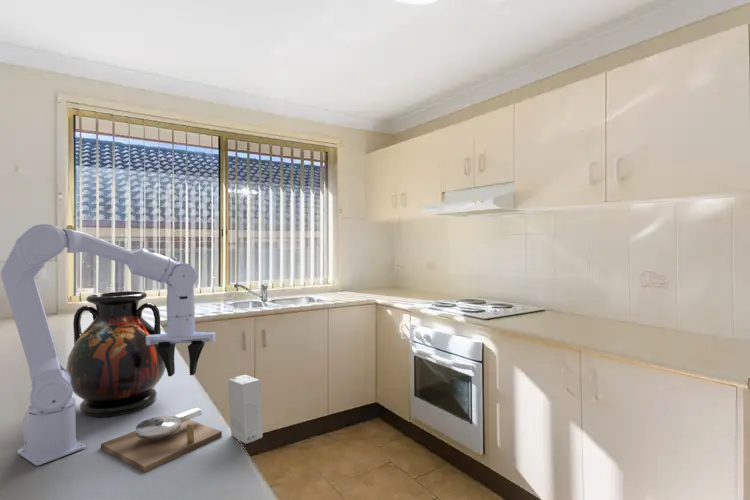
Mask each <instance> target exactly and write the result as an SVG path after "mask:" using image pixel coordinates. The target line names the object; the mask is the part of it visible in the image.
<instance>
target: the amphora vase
mask: <svg viewBox="0 0 750 500" xmlns="http://www.w3.org/2000/svg"><path fill="white" fill-rule="evenodd" d="M147 296H148V295H147V292H144V291H138V290H137V291H133V290H132V291H131V290H130V291H129V290H126V291H111V292H103V293H102V292H101V293H94V294H91V295H88V296H87V297H86V298H85V300H86V302H88V303H90V304H93V305H95V308H94V306H91V305H82V306H80V307H79V308H78V309H77V310H76V312H74V315H73V322H72V325H73V327H72V328H73V345H74V346H73V347H72V349H71V350H70V351H71V352H70V353H69V355H68V356H67V358H66V359H67V360H66V365H65V369H66V370H67V371H68V372H69V373H70V375H71V385H72V388H73V394H75V395H76V396H77V397H79V398H80V399H82V401H81V402H80V404H79V410H80V412H81V413H83V414H84V415H87V416H91V417H101V418H102V417H113V416H119V415H120V416H121V415H124V414H128V413H131V412H134V411H138V410H140V409H142V408H145V407H146V406H148V405H150V404H151V403H152V402H154V401H155V400H156V399H157V393H158V392H157V391H156V389H155V388H154V387H156V386H157V384H158V383H159V382H160V381H161V380H162V378H163V376H164V373H165V372H166V370H167V369H166V366H165V364H164V362H163V360H162V358H161V356H160V355H159V353H158V352H157V347H158V344H152V345H146V336H148V335H155V334H162V333H161V331H162V330H161V315H160V314H161V313H160V309H158V306H157V305H156V304H154V303H152V302H145V303H142V304H141V305H140V306H139V303H140V302H141V300H144V299H145V298H147ZM145 309H151V311H152V312H153V318H154V324H153V325H154V327H153V326H152V325H151V324H150V323H149V322H148V321H146V319H144V318H143V317H142V315H143V311H144V310H145ZM86 311H87V312H89V313H90V314H91V316H92V320H93V321H92V322H91V323H90V325H89V326H88V327H86V328H85V330H84V331H83V332H82V325H81V324H82V323H81V320H82V315H83V313H84V312H86Z"/></svg>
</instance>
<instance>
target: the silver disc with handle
mask: <svg viewBox="0 0 750 500" xmlns="http://www.w3.org/2000/svg"><path fill="white" fill-rule="evenodd" d="M200 416H202V408H199V407H193V408H191V409H188V410H186V411H183V412H180V413H177V414H174V415H167V414H166V415H159V416H154V417H151V418H148V419H146V420H143V421H141V422H140V423H138V424H137V425H136V428H135V431H136V436H137V437H139V438H143V439H153V438H159V437H163V436H167V435H170V434H172V433H174V432H176V431H177V430H178V429H179V428H180V427H181V423H182V422H185V421H187V420H192V419H194V418H197V417H200Z"/></svg>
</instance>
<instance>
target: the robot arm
mask: <svg viewBox="0 0 750 500" xmlns="http://www.w3.org/2000/svg"><path fill="white" fill-rule="evenodd" d="M65 248H67V249H66V250H67V251H66V252H67V254H72V253H73V254H74V253H88V254H92V255H95V256H98V257H101V258H104V259H108V260H110V261H111V260H112V261H114V262H118V263H120V264H123V265H126V266H127V268H128V269H129V271H130V273H131V274H132V275H136V276H140V277H143V278H146V279H148V280H152V281H155V282H158V283H165V285H166V290H167V291H166V292H167V293H166V330H167V332H166V333H161V334H155V335H148V336H146V345H152V344H158V347H157V352H158V353H159V355H160V356H161V358H162V360H163V362H164V364H165V366H166V369H165V370H166V374H167V376H168V377H172V376H174V375H175V372H176V371H175V369H176V368H175V349H176V344H188V343H189V345H188V346H187V349H188V358H189V376H194V375H195V374H196V371H197V366H198V361H199V359H200V356H201V353H202V351H203V348H204V346H205V345H206V343H214V342H216V336H217V335H216V332H212V331H211V332H208V331H207V332H206V331H196V328H195V327H196V321H195V320H196V319H195V317H196V315H195V313H196V312H195V311H196V310H195V308H196V307H195V294H194V293H195V291H194V289H195V288H194V286H195V284H196V282H197V280H198V274H197V271H196V270H195V268H193V266H192V264H188V263H185V262H182V261H177V260H178V258H177V257H174V256H171V258H170V257H168V256H165V255H163V254H160V253H156V249H154V248H151V247H148V248H147V249H146V248H143V247H141V248H139V249H137V250H134V251H133V250H131V249H128V248H126V247H122V246H119V245H117V244H114V243H112V242H110V241H107V240H104V239H102V238H99V237H96V236H94V235H91V234H88V233H86V232H81V231H79V230H78V231H77V230H73V229H69V228H62V229H61V228H59V227H57V226H56V225H52V224H49V223H39V224H36V225H34V226H32V227H30V228H28V229H27V230H26V231H24V232H23V234H21V235H19V237H18V238H16V241H15V242H14V245H13V247H12V249H11V251H10V253H9V255H8V257H7V259H6V260H5V262H4V265H3V266H2V268H1V270H0V277H1V280H2V284H3V287H4V289H5V293H6V297H7V300H8V303H9V306H10V310H11V313H12V316H13V319H14V323H15V326H16V330H17V332H18V335H19V339H20V342H21V345H22V348H23V352H24V355H25V358H26V362H27V365H28V371H29V377H30V380H31V381H30V382H31V392H30V395H29V401H30V404H31V405H29V406H28V409H27V411H26V412H25V414H24V416H23V420H22V424H23V425H22V427H23V428H22V430H23V448H21V449H18V450H17V454H19V455H20V456H21V457H23V458H24V459H26V460H27V461H29V463H31V464H33V465H34V466H36V467H38V466H41V465H44V464H46V463H48V462H51V461H54V460H55V461H56V460H57V459H60V458H62V457H64V456H65V457H66V456H68V455H70V454H73V453H75V452H79V451H81V450H85V448H86V445H85V444H83V443H81V442H80V441H78V440H77V428H76V427H77V422H76V419H77V418H76V398H74V397H73V394H74V392H73V388H72V385H71V375H70V373H69V372H68V371H67V370H66V368H64V366H63V365H62V363H61V359H60V357H59V355H58V351H57V348H56V345H55V341H54V339H53V335H52V331H51V327H50V325H49V322H48V318H47V314H46V311H45V307H44V304H43V301H42V297H41V294H40V291H39V288H38V285H37V281H36V275H37V274H38V273H39V272H40V271H41V270H42V268H43V267H45V264H47V263H48V262H49V261H51V260H52V259H54V258H56V257H57V256H58V255H60V254H61V253H62V252H64V250H65Z"/></svg>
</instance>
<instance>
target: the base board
mask: <svg viewBox="0 0 750 500" xmlns="http://www.w3.org/2000/svg"><path fill="white" fill-rule="evenodd" d="M222 432H223V431H221V430H219V429H217V428H214V427H211V426H208V425H205V424H203V423H199V422H197V421H194V420H192V419H190V420H187V421H185V422H182V423H181V427H180V428H179V429H178V430H177V431H176V432H174V433H172V434H170V435H167V436H163V437H159V438H153V439H143V438H139V437H137V436H136V430H134V431H130V432H128V433H126V434H123V435H120V436H117V437H115V438H112V439H110V440H107V441H105V442H102V443H100V450H102V451H104V452H106V453H108V454H110V455H111V456H114V457H115V458H117V459H119V460H120V461H123V462H125V463H127V464H129V465H131V466H132V467H134V468H136V469H138V470H140V471H141V472H144V473H146V472H148V471H150V470H153V469H155V468H156V467H158V466H161V465H163V464H165V463H167V462H169V461H171V460H174V459H176V458H179V457H180V456H182V455H184V454H185V455H186V454H187V453H189V452H190V451H194V450H195V449H197V448H200V447H201V446H204V445H206V444H208V443H210V442H212V441H215V440H217V439H218V438H220V437H222V435H223V433H222Z"/></svg>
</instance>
